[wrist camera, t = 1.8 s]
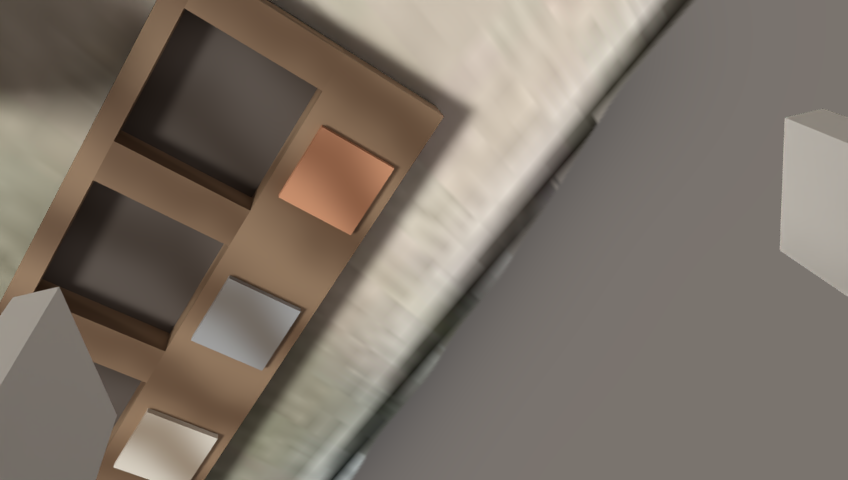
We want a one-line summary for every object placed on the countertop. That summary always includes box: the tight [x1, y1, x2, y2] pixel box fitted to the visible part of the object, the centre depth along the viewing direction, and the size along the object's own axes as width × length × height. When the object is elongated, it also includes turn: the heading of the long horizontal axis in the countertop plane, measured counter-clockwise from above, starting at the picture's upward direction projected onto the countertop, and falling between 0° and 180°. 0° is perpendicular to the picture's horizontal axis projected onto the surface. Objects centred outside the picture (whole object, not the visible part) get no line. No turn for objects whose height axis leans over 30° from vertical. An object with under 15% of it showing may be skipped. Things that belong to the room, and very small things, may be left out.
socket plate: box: [0, 0, 444, 480], centre depth 42 cm, size 32×15×3 cm, turn 146°
